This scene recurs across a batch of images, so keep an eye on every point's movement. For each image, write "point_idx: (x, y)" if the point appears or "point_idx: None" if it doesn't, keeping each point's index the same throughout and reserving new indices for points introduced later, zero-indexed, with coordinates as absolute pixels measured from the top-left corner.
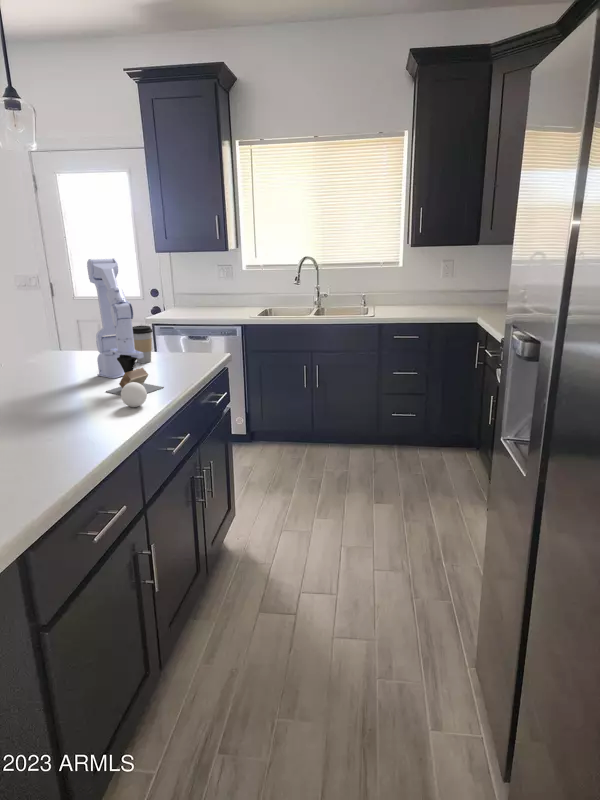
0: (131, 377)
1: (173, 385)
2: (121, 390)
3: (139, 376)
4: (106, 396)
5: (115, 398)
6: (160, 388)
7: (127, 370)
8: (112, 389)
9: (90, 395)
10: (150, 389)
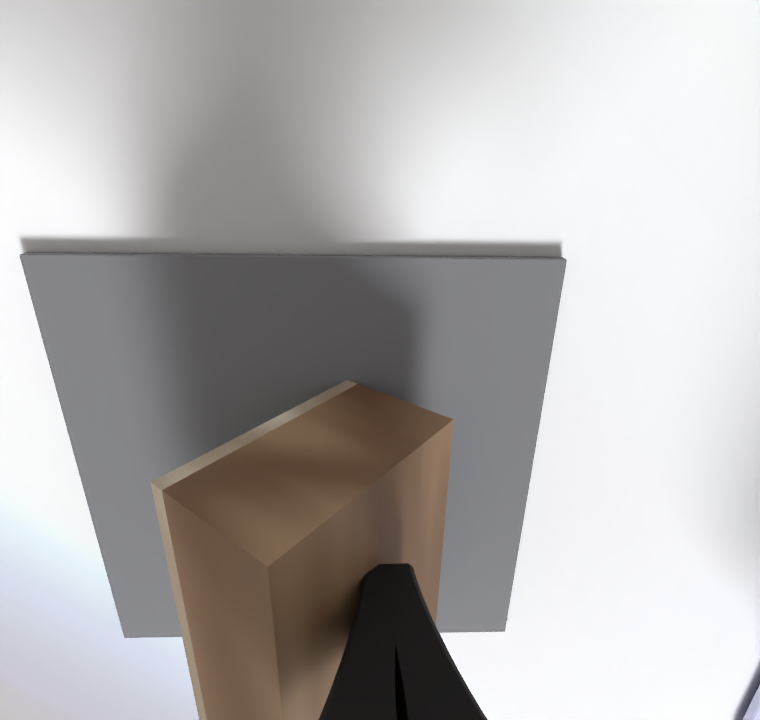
0: (183, 534)
1: (129, 701)
2: (406, 378)
3: (188, 631)
4: (408, 119)
5: (220, 115)
6: (116, 603)
7: (344, 662)
8: (537, 353)
9: (662, 27)
10: (156, 541)
